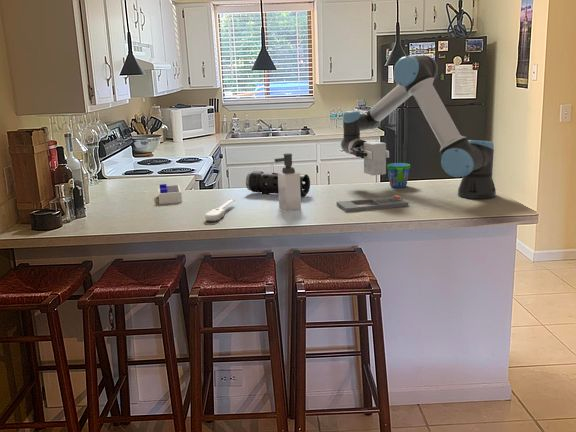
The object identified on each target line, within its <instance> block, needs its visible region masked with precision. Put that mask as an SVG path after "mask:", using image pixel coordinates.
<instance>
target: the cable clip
mask: <svg viewBox="0 0 576 432" xmlns="http://www.w3.org/2000/svg"><path fill="white" fill-rule="evenodd" d="M159 186H160V193H168V192H167V186H168V185H167V183H163V184H159Z"/></svg>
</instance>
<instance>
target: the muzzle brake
mask: <svg viewBox="0 0 576 432" xmlns="http://www.w3.org/2000/svg"><path fill="white" fill-rule="evenodd" d="M278 173H279V172H264V171H258V170H257V171H254V170H253V171H251V172H248V174H247V175H246V179H245V187H246V188H247V190H248V191H249V192H252V193H261V194H262V195H265V194H266V195H267V196H268V195H271V194H277V195H279V190H278ZM310 188H311V178H310V176H309V175H308V174H307V173H306V174H305V173H303V174H302V173H300V194H301V197H303V198H305V197H306V196H307V195H308V194H309V192H310Z"/></svg>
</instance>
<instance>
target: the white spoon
mask: <svg viewBox="0 0 576 432" xmlns="http://www.w3.org/2000/svg"><path fill="white" fill-rule="evenodd" d="M236 200H237V199H235V198H229V199H227V200H226V202H224V203H223V204H222V205H220V206H219V207H217V208H212V209H211V210H209V211H207V212H206V213H205V214H204V218H205V221H206V222H217V221H220V220H221V218H224V217H225V209H224V208H226V207H227V206H228V205H230V204H231V203H233V202H236Z"/></svg>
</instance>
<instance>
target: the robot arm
mask: <svg viewBox="0 0 576 432" xmlns="http://www.w3.org/2000/svg"><path fill="white" fill-rule="evenodd" d="M393 68H394V69H393V72H392V73H393V75H392V76H393V78H394V79H393V80H394V81H395V83H396V84H397V85H396V86H395V87H394V88H392V90H390V91H389V92H388V93H387V94H386V95H384V96H383V97H382V98H381V99H380V100H378V101H377V103H375V104H374V105H373V106H372V107H371V108H370V109H369V110H367V111H366V112H365V113H360V111H359V110H346V111H344V112H343V120H342V122H343V123H342V124H343V138H342V139H341V142H340V146H341V147H340V148H341V149H342V151H344V152H345V153H346V154H351V155H352V156H355V157H356V158H361V159H364V157H366V158H369V159H372V152H370V151H367V150H364V142H367V141H366V140H363V139H361V131H365V130H373V129H377V128H378V127H379V126H380V125H381V122H382V121H383V120H384V119H385V118H386V117H387V116H389V115H390V114H392V112H394V111H395V110H396V109H398V107H400V106H401V105H402V104H403V103H405V102H406V101H407V100H408V99H409V98H410V97H411V96H413V97H414V99H415V101H416V103H417V105H418V106H419V108H420V110H421V111H422V114H423V115H424V117H425V120H426V121H427V123H428V125H429V127H430V128H431V130H432V133H433V134H434V136H435V138H436V139H437V142H438V143H439V146H440V149H439V154H440V155H441V159H440V164H441V165H440V166H441V168H442V169H443V171H444V172H445V173H446V174H447V175H449V176H450V177H452V178H453V177H454V178H460V177H461V181H460V183H459V186H458V189H457V196H459V197H460V198H465V199H472V200H473V199H474V200H485V199H492V198H495V197H496V196H497V195H496V194H497V189H496V187H495V183H494V179H493V168H494V151H495V149H494V142H493V141H490V140H489V141H488V140H473V139H468V138H467V136H464V135H461V133H460V132H459V129H458V128H457V126H456V124H455V122H454V120H453V119H452V117H451V115H450V113H449V112H448V110H447V108H446V106H445V105H444V103H443V101H442V99H441V97H440V95H439V94H438V92H437V90H436V88H435V86H434V80H435V79H436V78H437V75H438V74H439V73H438V71H439V67H438V64H437V62H436V60H435V59H434V58H433V57H432V56H429V55H411V54H410V55H407V56H402V57H400V58H399V59H398V61H396V63H395V65H394V67H393ZM387 158H390V151H389V148H388V147H386V159H387Z"/></svg>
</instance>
